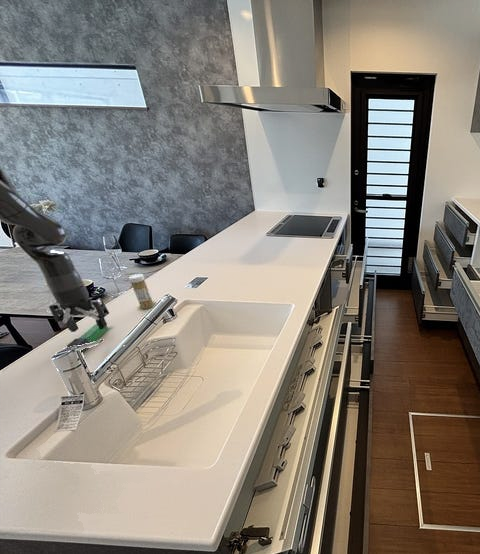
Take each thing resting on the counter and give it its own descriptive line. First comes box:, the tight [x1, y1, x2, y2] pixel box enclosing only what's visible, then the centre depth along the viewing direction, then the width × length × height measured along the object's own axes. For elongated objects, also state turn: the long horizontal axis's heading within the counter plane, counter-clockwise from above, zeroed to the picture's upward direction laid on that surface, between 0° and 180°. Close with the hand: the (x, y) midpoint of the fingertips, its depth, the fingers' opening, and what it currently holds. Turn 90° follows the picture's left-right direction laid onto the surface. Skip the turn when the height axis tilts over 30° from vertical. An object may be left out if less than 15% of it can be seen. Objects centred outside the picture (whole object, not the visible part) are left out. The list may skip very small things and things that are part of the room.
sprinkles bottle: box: [128, 273, 155, 310], centre depth 119 cm, size 5×5×14 cm
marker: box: [66, 322, 109, 354], centre depth 100 cm, size 13×3×3 cm, turn 8°
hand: (89, 329), depth 100 cm, fingers open, 8 cm apart
